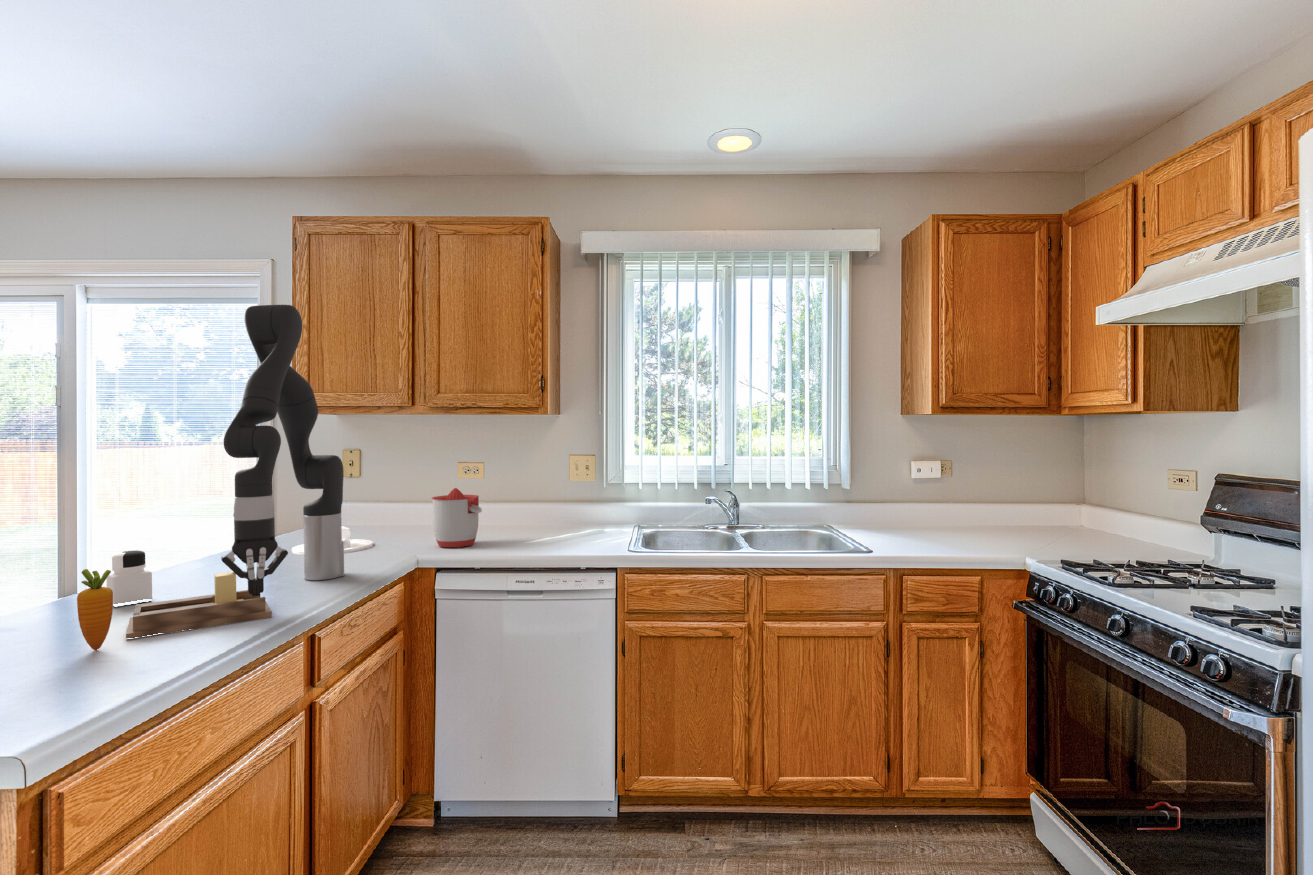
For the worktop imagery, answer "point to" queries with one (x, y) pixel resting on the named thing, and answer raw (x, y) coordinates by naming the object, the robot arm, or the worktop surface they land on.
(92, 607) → the carrot
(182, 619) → the track
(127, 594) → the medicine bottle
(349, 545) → the dish
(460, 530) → the citrus juicer
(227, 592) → the flanged block
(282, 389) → the robot arm
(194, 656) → the worktop surface
